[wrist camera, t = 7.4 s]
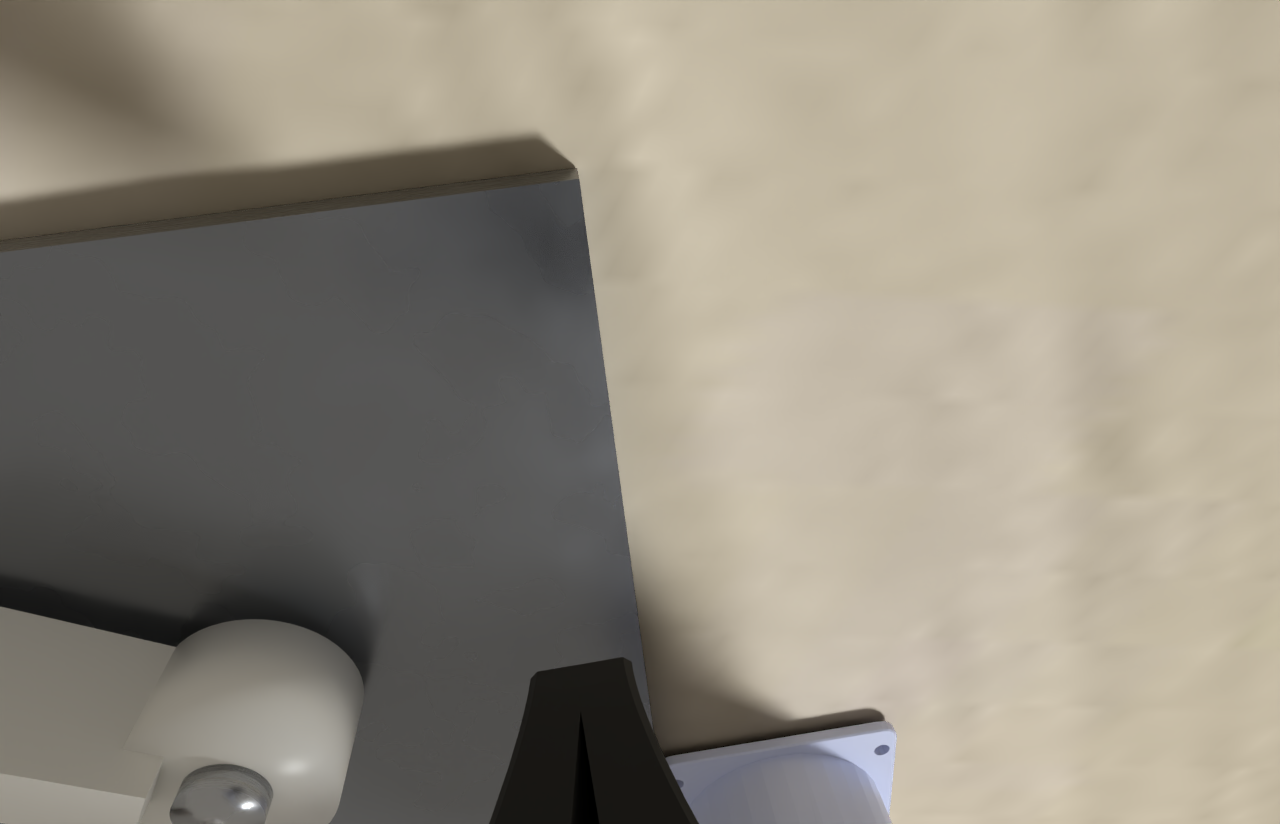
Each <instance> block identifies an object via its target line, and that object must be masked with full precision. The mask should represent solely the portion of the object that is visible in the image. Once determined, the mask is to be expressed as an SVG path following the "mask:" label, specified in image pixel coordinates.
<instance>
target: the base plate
mask: <svg viewBox="0 0 1280 824" xmlns="http://www.w3.org/2000/svg"><path fill="white" fill-rule="evenodd" d="M0 607H5V608H9V609H13V610H18V611H22V612H26V613H31V614H35V615H39V616H44V617H48V618H52V619H57V620H61V621H65V622H69V623H74V624H78V625H82V626H87V627H91V628H95V629H100V630H104V631H108V632H113V633H117V634H121V635H126V636H130V637H134V638H139V639H143V640H147V641H152V642H156V643H160V644H165V645H169V646H173V647H177V646H178V645H179V643H181V642H182V641H183V640H185V639H186V638H187V637H189V636H190V635H192V634H194V633H196V632H197V631H199V630H202V629H204V628H207V627H209V626H212V625H216V624H219V623H223V622H229V621H234V620H245V619H264V620H273V621H280V622H285V623H290V624H294V625H297V626H300V627H304V628H306V629H309V630H311V631H314V632H316V633H318V634H320V635H322V636H324V637H325V638H327V639H329V640H330V641H332V642H333V643H335V644H336V645H337V646H339V647H340V648H341V649H342V650H343V651H344V652H345V653H346V654H347V655H348V656H349V657H350V658H351V659H352V660H353V662H354V664H355V665H356V667H357V668H358V670H359V672H360V675H361V677H362V681H363V685H364V699H363V705H362V709H361V713H360V718H359V722H358V726H357V730H356V735H355V739H354V743H353V748H352V752H351V756H350V760H349V765H348V769H347V773H346V777H345V782H344V786H343V790H342V794H341V799H340V803H339V806H338V809H337V812H336V814H335V815H334V817H333V819H332V820H331V822H330V823H329V824H489V822H490V820H491V817H492V814H493V811H494V808H495V805H496V802H497V799H498V796H499V793H500V790H501V787H502V785H503V782H504V779H505V776H506V773H507V770H508V767H509V764H510V760H511V757H512V754H513V750H514V747H515V743H516V740H517V737H518V733H519V729H520V726H521V722H522V718H523V714H524V709H525V705H526V701H527V696H528V691H529V685H530V679H531V678H532V677H533V676H534V675H535V673H536V672H538V671H543V670H549V669H555V668H561V667H567V666H573V665H579V664H585V663H590V662H596V661H602V660H608V659H614V658H620V657H624V658H626V659H628V660H629V661H631V662H632V666H633V672H634V676H635V680H636V684H637V688H638V691H639V694H640V697H641V700H642V703H643V706H644V709H645V712H646V714H647V717H648V719H649V722H650V724H651V727H652V729H653V724H652V716H651V709H650V702H649V694H648V687H647V679H646V672H645V664H644V657H643V650H642V642H641V635H640V627H639V620H638V613H637V605H636V598H635V590H634V583H633V575H632V568H631V561H630V553H629V546H628V538H627V531H626V523H625V516H624V509H623V501H622V494H621V486H620V479H619V471H618V464H617V457H616V449H615V442H614V434H613V427H612V419H611V412H610V405H609V397H608V390H607V382H606V375H605V368H604V360H603V353H602V345H601V338H600V330H599V323H598V316H597V308H596V301H595V293H594V286H593V278H592V271H591V264H590V256H589V249H588V241H587V234H586V226H585V219H584V212H583V204H582V197H581V189H580V182H579V176H578V171H577V168H572V169H564V170H556V171H548V172H541V173H533V174H525V175H517V176H509V177H501V178H493V179H485V180H477V181H470V182H462V183H454V184H446V185H438V186H430V187H422V188H414V189H406V190H399V191H391V192H383V193H375V194H367V195H359V196H351V197H343V198H335V199H327V200H320V201H312V202H304V203H296V204H288V205H280V206H272V207H264V208H256V209H249V210H241V211H233V212H225V213H217V214H209V215H201V216H193V217H185V218H178V219H170V220H162V221H154V222H146V223H138V224H130V225H122V226H114V227H106V228H99V229H91V230H83V231H75V232H67V233H59V234H51V235H43V236H35V237H28V238H20V239H12V240H4V241H0ZM653 732H654V731H653ZM0 824H3V823H0Z"/></svg>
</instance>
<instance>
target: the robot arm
mask: <svg viewBox="0 0 1280 824" xmlns="http://www.w3.org/2000/svg"><path fill="white" fill-rule="evenodd" d="M896 739H897V735H896V732H895V730H894V728H893V726H892V725H891V724H890V723H889V722H886V721H878V722H872V723H866V724H859V725H853V726H847V727H841V728H835V729H829V730H823V731H817V732H811V733H805V734H799V735H793V736H787V737H781V738H775V739H769V740H763V741H757V742H751V743H745V744H739V745H733V746H727V747H721V748H715V749H709V750H703V751H697V752H691V753H685V754H679V755H673V756H669V757H666V758H665V757H664V754H663V752H662V750H661V748H660V746H659V743H658V741H657V739H656V736H655V734H654V732H653V729H652V727H651V724H650V722H649V719H648V717H647V714H646V712H645V709H644V706H643V703H642V700H641V697H640V694H639V691H638V688H637V684H636V680H635V676H634V672H633V666H632V662H631V661H629V660H628V659H626V658H624V657H620V658H614V659H608V660H602V661H596V662H590V663H585V664H579V665H573V666H567V667H561V668H555V669H549V670H543V671H538V672H536V673H535V675H534V676H533V677H532V678H531V679H530V685H529V691H528V696H527V701H526V705H525V709H524V714H523V718H522V722H521V726H520V729H519V733H518V737H517V740H516V743H515V747H514V750H513V754H512V757H511V760H510V764H509V767H508V770H507V773H506V776H505V779H504V782H503V785H502V787H501V790H500V793H499V796H498V799H497V802H496V805H495V808H494V811H493V814H492V817H491V820H490V822H489V824H892V822H891V819H890V817H889V813H890V802H891V792H892V781H893V771H894V760H895V750H896Z"/></svg>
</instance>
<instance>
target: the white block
mask: <svg viewBox="0 0 1280 824" xmlns="http://www.w3.org/2000/svg"><path fill="white" fill-rule="evenodd" d="M363 699H364V685H363V681H362V677H361V675H360V672H359V670H358V668H357V667H356V665H355V664H354V662H353V660H352V659H351V658H350V657H349V656H348V655H347V654H346V653H345V652H344V651H343V650H342V649H341V648H340V647H339V646H337V645H336V644H335V643H333V642H332V641H330V640H329V639H327V638H325V637H324V636H322V635H320V634H318V633H316V632H314V631H311V630H309V629H306V628H304V627H300V626H297V625H294V624H290V623H285V622H280V621H273V620H264V619H245V620H234V621H229V622H223V623H219V624H216V625H212V626H209V627H207V628H204V629H202V630H199V631H197V632H196V633H194V634H192V635H190V636H189V637H187V638H186V639H185V640H183V641H182V642H181V643H179V645H178V646H177V647H173V646H169V645H165V644H160V643H156V642H152V641H147V640H143V639H139V638H134V637H130V636H126V635H121V634H117V633H113V632H108V631H104V630H100V629H95V628H91V627H87V626H82V625H78V624H74V623H69V622H65V621H61V620H57V619H52V618H48V617H44V616H39V615H35V614H31V613H26V612H22V611H18V610H13V609H9V608H5V607H0V823H3V824H329V823H330V822H331V820H332V819H333V817H334V815H335V814H336V812H337V809H338V806H339V803H340V799H341V794H342V790H343V786H344V782H345V777H346V773H347V769H348V765H349V760H350V756H351V752H352V748H353V743H354V739H355V735H356V730H357V726H358V722H359V718H360V713H361V709H362V705H363Z"/></svg>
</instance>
